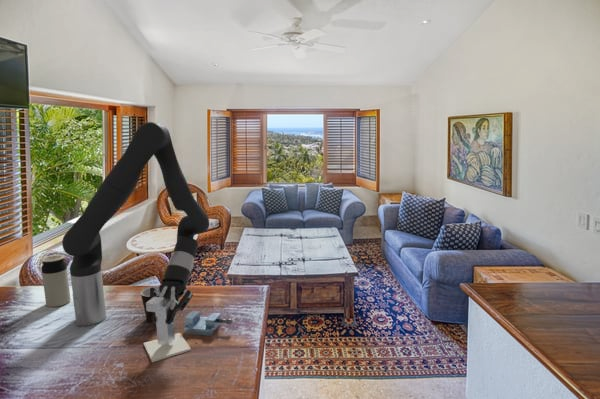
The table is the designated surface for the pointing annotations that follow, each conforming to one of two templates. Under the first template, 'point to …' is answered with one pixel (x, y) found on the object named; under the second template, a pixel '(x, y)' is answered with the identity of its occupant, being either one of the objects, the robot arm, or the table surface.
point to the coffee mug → (145, 298)
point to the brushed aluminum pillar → (162, 319)
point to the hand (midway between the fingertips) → (161, 322)
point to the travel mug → (55, 280)
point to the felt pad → (166, 348)
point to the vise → (203, 323)
